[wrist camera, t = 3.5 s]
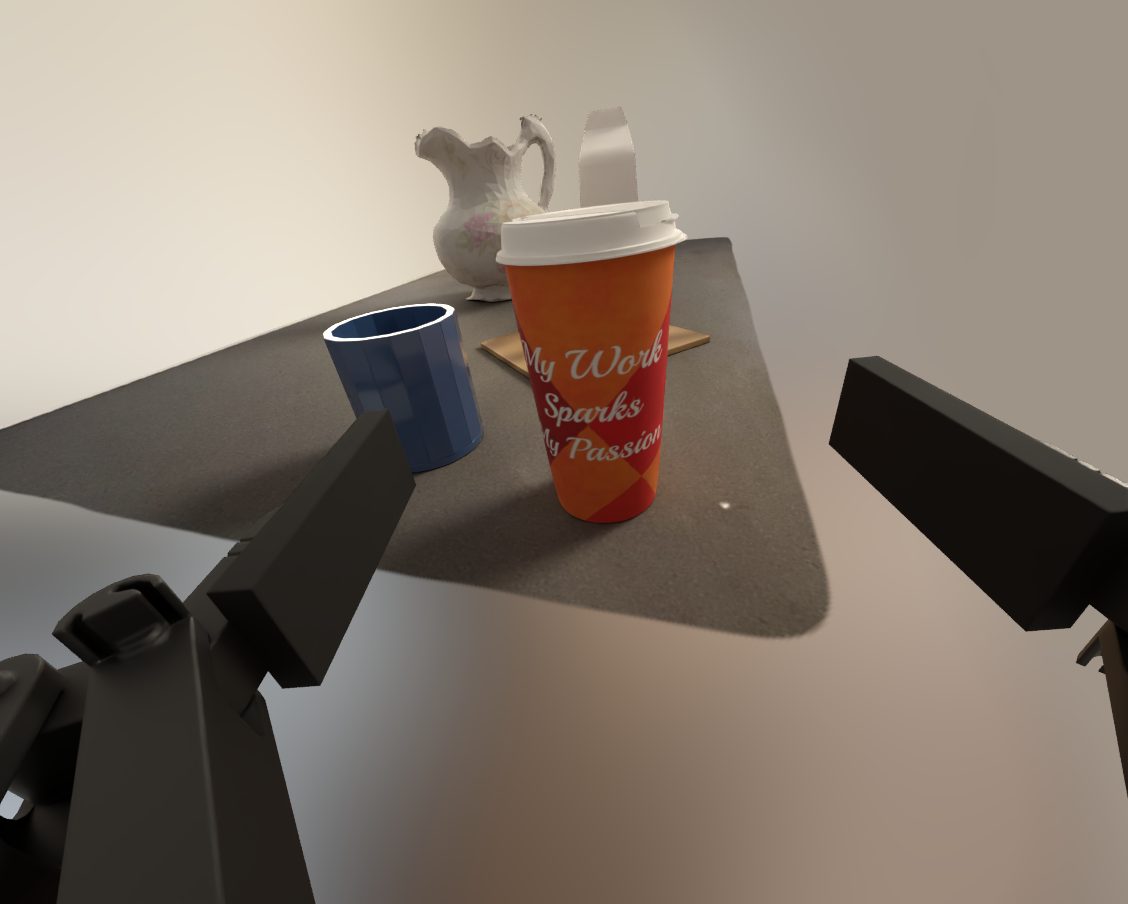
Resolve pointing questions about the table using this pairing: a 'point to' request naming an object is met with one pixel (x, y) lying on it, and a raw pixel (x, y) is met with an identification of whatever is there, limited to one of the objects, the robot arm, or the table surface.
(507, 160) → the ceramic pitcher
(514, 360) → the wooden board
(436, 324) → the blue cup
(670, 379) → the table surface
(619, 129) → the milk
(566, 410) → the paper cup
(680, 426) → the table surface
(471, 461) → the table surface
